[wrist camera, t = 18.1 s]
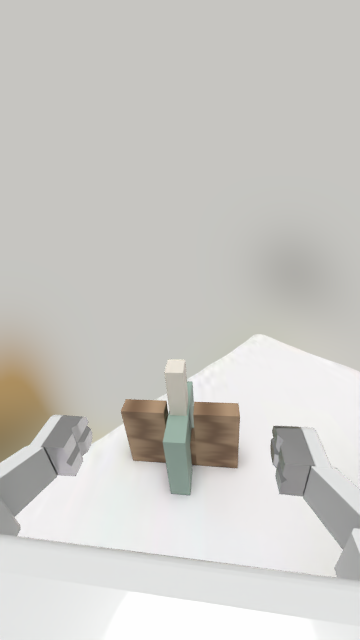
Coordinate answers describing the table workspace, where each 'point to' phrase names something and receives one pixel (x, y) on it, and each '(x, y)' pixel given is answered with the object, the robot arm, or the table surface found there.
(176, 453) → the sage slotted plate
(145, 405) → the walnut slotted board
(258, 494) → the table surface
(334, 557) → the table surface
